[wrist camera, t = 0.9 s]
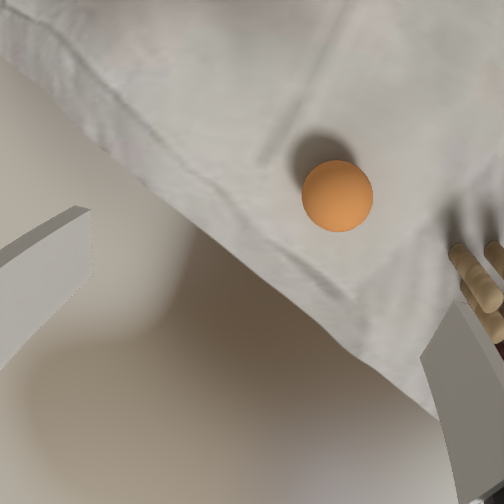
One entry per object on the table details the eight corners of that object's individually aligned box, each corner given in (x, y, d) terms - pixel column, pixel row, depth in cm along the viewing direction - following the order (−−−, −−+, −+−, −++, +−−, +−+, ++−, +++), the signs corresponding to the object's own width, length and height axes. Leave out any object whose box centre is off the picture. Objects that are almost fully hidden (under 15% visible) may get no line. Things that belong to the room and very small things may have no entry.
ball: (318, 143, 27) (322, 155, 21) (376, 172, 27) (393, 191, 22) (291, 200, 29) (288, 225, 24) (347, 225, 30) (356, 255, 25)
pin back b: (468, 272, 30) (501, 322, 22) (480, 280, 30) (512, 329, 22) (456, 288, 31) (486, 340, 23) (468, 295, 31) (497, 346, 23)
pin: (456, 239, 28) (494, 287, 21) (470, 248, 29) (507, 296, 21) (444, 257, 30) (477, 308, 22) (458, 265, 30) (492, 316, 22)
